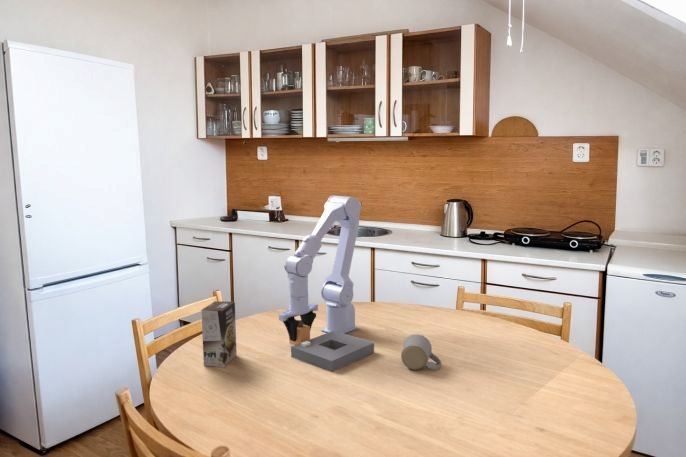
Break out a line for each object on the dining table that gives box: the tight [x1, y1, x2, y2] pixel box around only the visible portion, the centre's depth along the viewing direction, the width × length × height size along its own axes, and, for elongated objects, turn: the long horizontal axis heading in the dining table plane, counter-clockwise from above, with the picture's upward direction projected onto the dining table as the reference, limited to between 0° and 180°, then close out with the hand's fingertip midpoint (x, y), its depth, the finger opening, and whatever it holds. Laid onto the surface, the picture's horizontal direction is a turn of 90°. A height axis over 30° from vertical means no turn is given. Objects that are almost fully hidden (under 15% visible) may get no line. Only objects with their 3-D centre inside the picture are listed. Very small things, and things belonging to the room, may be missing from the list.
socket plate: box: [290, 331, 375, 372], centre depth 154 cm, size 18×16×4 cm
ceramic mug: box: [400, 333, 442, 371], centre depth 146 cm, size 11×8×8 cm
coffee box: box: [201, 300, 238, 368], centre depth 150 cm, size 9×6×16 cm
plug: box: [288, 319, 311, 346], centre depth 163 cm, size 4×5×7 cm
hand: (299, 338), depth 164 cm, fingers open, 5 cm apart
